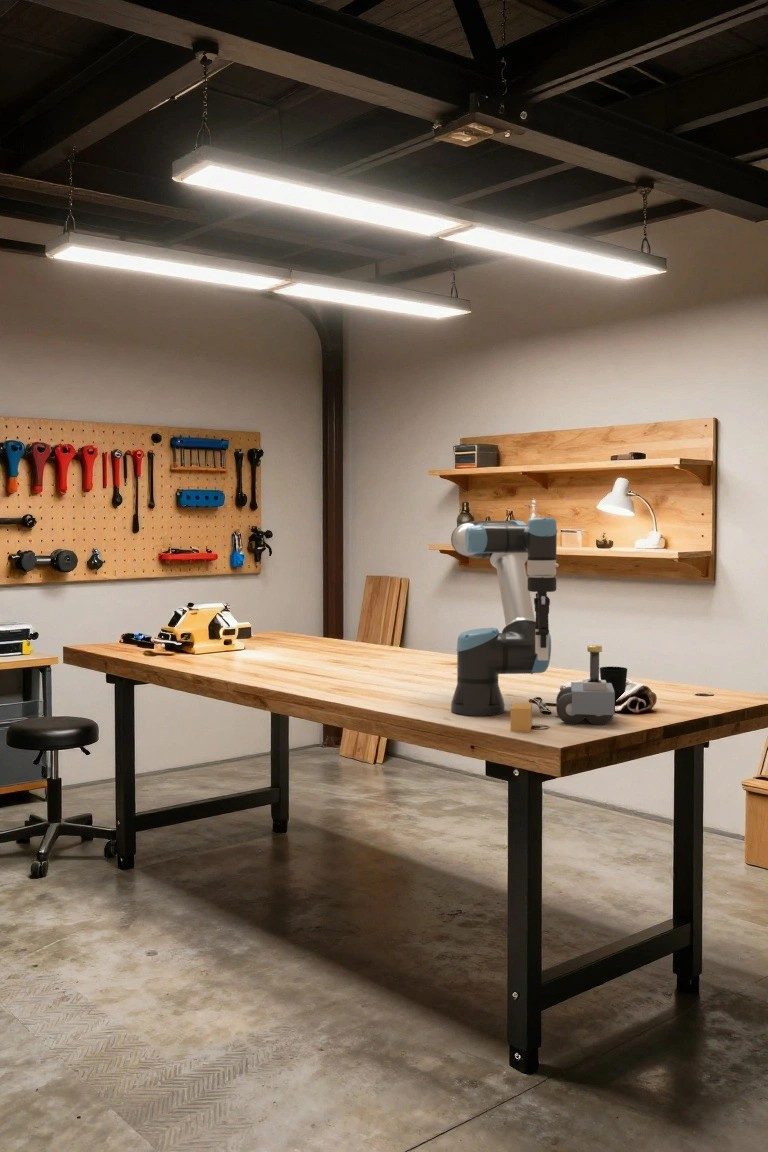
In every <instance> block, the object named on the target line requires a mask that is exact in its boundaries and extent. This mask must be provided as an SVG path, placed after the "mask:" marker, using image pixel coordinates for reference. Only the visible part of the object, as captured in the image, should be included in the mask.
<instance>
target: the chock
mask: <svg viewBox="0 0 768 1152" xmlns="http://www.w3.org/2000/svg"><path fill="white" fill-rule="evenodd" d="M532 727H533V702H520V701H519V702H517V701H515V702H514V701H513V702H512V704H511V707H510V732H522V733H523V732H529V733H530V732H531V730H532Z"/></svg>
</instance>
